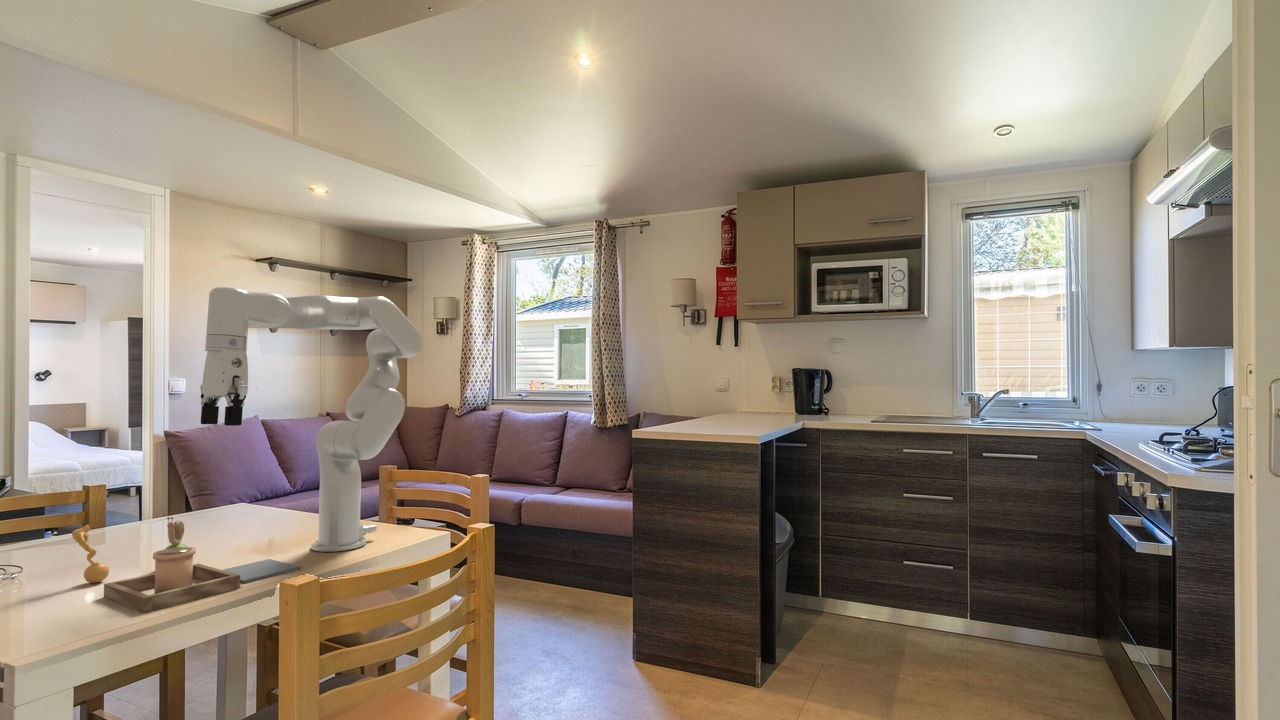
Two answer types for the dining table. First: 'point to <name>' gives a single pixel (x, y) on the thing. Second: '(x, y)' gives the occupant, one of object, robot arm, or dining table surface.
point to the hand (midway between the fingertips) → (220, 424)
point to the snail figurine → (175, 533)
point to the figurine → (95, 570)
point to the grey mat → (261, 570)
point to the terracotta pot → (173, 568)
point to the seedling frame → (130, 596)
